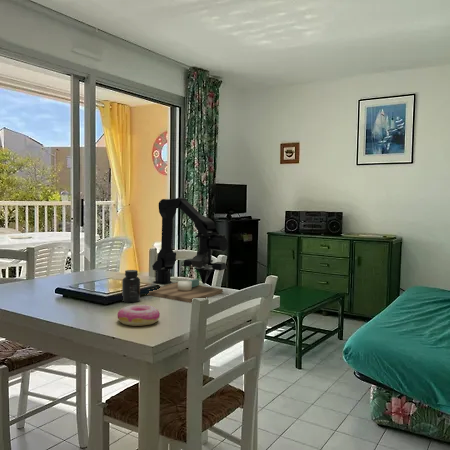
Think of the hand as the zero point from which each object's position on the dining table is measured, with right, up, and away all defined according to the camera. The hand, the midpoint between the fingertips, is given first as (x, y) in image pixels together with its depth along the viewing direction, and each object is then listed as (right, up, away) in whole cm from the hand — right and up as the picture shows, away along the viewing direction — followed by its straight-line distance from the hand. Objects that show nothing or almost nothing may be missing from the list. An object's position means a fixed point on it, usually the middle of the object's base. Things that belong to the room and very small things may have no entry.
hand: (204, 283), depth 199 cm
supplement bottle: (-28, -4, -21) cm, 35 cm away
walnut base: (-8, -4, -5) cm, 10 cm away
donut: (-19, -7, -49) cm, 53 cm away
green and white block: (-6, -2, -2) cm, 7 cm away
